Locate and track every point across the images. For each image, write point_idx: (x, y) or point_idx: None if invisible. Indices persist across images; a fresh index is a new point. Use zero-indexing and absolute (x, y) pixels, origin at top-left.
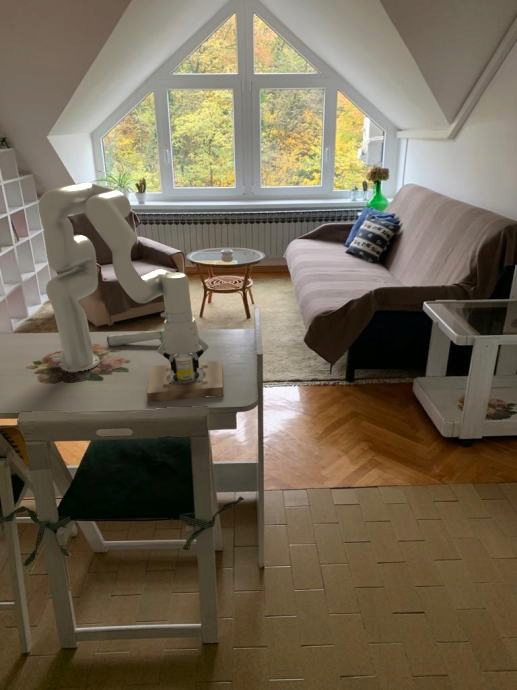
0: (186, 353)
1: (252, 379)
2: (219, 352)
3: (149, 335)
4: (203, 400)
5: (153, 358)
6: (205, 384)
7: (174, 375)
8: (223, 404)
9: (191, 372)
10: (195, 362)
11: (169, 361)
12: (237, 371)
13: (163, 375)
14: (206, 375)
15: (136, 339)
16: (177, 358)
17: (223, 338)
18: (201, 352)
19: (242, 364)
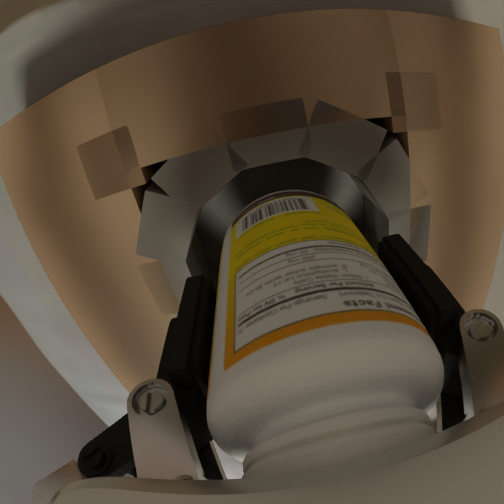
0: (270, 476)
1: (3, 294)
2: (217, 445)
3: None
4: (115, 42)
5: None
6: (89, 140)
7: None
8: (12, 44)
9: (230, 256)
10: (172, 349)
11: (487, 311)
12: (83, 354)
13: (444, 260)
14: (140, 279)
15: None
16: (425, 360)
17: (234, 477)
18: (91, 459)
19: (98, 392)
